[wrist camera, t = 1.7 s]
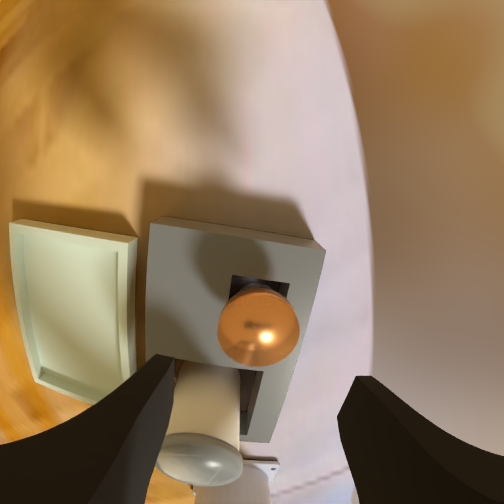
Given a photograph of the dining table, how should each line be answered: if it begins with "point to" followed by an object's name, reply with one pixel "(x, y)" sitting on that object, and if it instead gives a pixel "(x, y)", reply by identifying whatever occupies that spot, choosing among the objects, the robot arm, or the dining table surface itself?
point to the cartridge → (203, 427)
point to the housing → (225, 300)
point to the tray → (75, 306)
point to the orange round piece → (258, 326)
